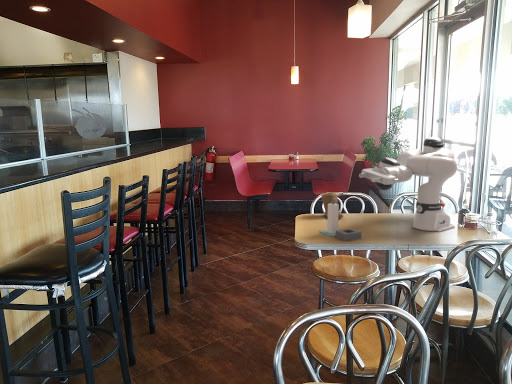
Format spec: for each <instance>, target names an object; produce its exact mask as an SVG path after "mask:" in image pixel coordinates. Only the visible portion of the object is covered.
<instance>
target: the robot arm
mask: <svg viewBox="0 0 512 384" xmlns="http://www.w3.org/2000/svg"><path fill="white" fill-rule="evenodd" d="M457 170H458V164H457V161H456V160H455V154H454V152H453V150H451V149H449V148H445V143H444V142H443V140H442V138H441V137H437V136H430V137H426V138H425V139H424V142H423V151H422V150H421V149H420V148H409V149H406V150H404V151H402V152H401V153H399V155H398V156H397V159H396V158H394V157H384V158H382V159H380V162H379V164H378V166H374V167H368V168H363V169H362V170H361V173H359V175H358V177H359V178H360V179H362V178H366V179H368V180H370V182H372V183H373V184H374V185H375V187H376V188H377V189H378V190H380V191H388V190H390V189H392V187H393V185H395V184H396V183H398V184H399V183H405V182H408V181H410V180H411V179H412V177H413V176H416V177H426V178H429V181H428V182H425V183H422V184H420V185H419V186H418V189H417V196H416V197H417V199H416V203H415V213H414V214H415V215H414V219H413V222H412V228H414V229H417V230H421V231H427V232H428V231H430V232H431V231H432V232H444V231H447V230H451V229H454V228H455V226H456V225H454V224H453V223H451V217H450V215H449V214H448V213H446V212H445V211H444V210H443V208H445V206H446V203H445V202H440V200H441V191H442V188H443V185H444V184H445V183H446V182H447V181H448V179H450V178H452V177H453V176H455V174H456V172H457Z"/></svg>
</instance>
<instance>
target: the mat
mask: <svg viewBox="0 0 512 384" xmlns="http://www.w3.org/2000/svg"><path fill="white" fill-rule="evenodd" d="M318 232H319V233H321V234H323V235H325V236H328V237H330V238H331V237H336V233H329V232H327V229H324V230H323V229H321V230H319V231H318Z"/></svg>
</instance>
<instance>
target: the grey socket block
mask: <svg viewBox="0 0 512 384" xmlns="http://www.w3.org/2000/svg"><path fill="white" fill-rule="evenodd" d="M335 238H336V239H339V240H340V241H343V242H348V241H355V240H356V241H357V240H361V239H362V231H360V230H358V229H355V228H346V229H338V230H337V231H336V236H335Z"/></svg>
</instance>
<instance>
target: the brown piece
mask: <svg viewBox="0 0 512 384" xmlns="http://www.w3.org/2000/svg"><path fill="white" fill-rule="evenodd" d="M332 198H335V203H336V204H338V194H337V193H336V192H334V191H333V192H325V193H321V202H322V204H323V206H324V210H325V211H324V213H323V215H324V216H326V217H327V218H328V204H330V203H332ZM341 218H344V215H343V214H342V213H341V212H340V211H339V215H338V220H339V219H341Z"/></svg>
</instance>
